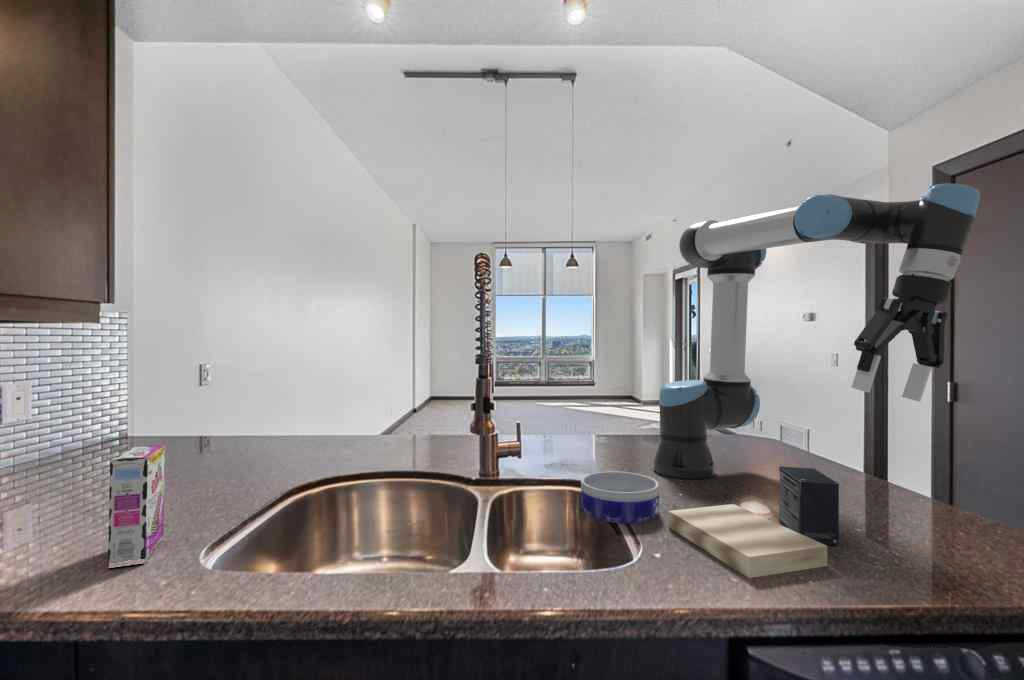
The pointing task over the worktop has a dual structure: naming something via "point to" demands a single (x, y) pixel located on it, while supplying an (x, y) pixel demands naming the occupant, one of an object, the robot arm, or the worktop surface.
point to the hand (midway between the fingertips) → (886, 395)
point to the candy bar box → (136, 503)
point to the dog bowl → (620, 497)
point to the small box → (809, 504)
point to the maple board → (747, 540)
